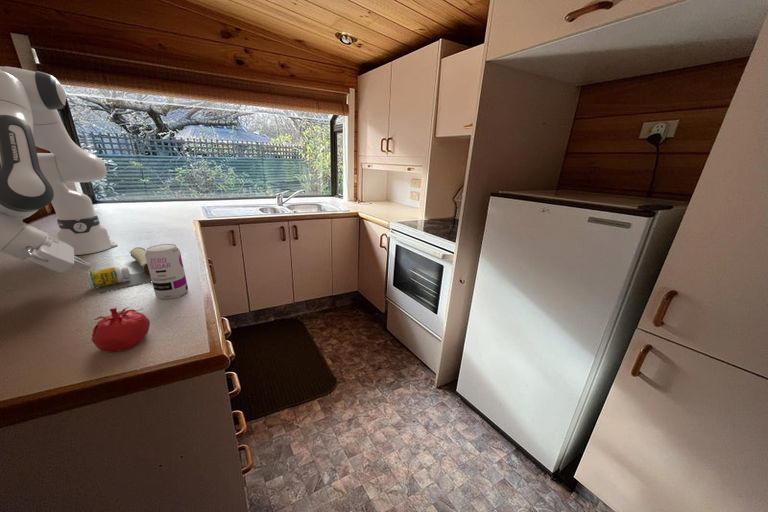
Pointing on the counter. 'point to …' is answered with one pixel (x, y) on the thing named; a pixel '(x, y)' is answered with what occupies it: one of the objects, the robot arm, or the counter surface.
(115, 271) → the supplement bottle
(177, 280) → the supplement can
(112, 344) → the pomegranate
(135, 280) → the mat
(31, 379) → the counter surface
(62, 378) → the counter surface
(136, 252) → the rolling pin
